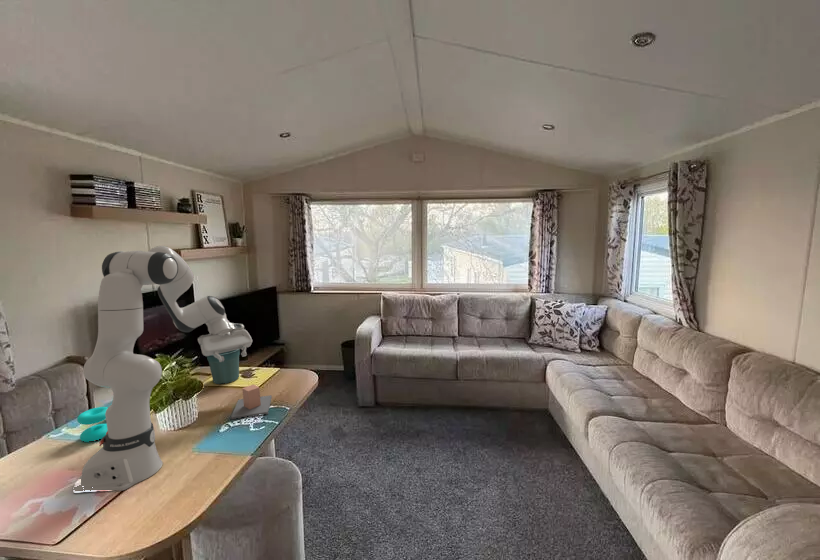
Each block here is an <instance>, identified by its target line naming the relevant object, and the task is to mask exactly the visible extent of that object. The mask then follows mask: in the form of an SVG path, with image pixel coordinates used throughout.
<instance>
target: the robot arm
mask: <svg viewBox="0 0 820 560" xmlns="http://www.w3.org/2000/svg"><path fill="white" fill-rule="evenodd" d="M101 273H102V275H103V278H102V279H101V281H100V285H99V291H98V299H97V327H98V329H97V331H98V332H97V339H96V344H95V347H94V350H93V352H92V355H91V356H90V357H89V358H87V360H86V361H85V363H84V365H83V369H82V374H83V377H84V378H85V379H86V380H87V381H88V382H90V383H92V384H93V385H95V386H97V387H101V388H107V389H111V390H112V402H111V404H110V405H109V406H108V409H107V410H106V413H105V416H106V419H105V421H106V423H105V424H107V430H108V432H106V435H105V436H104V437H103V438H102V439H101V440H99V442H98V443H99V447H100V449H98V451H96V452H95V453H93V455H92V456H90V458H89V459H88V460H87V461H86V462H85V463H84V465H83V468H82V469H81V475H80V476H79V478H78V479H81V485H79V486H77V487H74V489H73V488H72V491H73V490H75V491H83V490H84V491H85V490H90V491H91V490H119V491H118V492H120V491H121V492H122V491H125V490H127V489H129V488H130V487H132V486H134V485H136V484H137V483H140V482H142V481H144V480H146V479H148V478H150V477H152V476H154V475H155V474H156V473H157V472H158V471H159V470H161V468H162V466H163V461H162V459H161V456H160V455H159V452H158V450H157V449H158V448H157V447H156V446H157V445H156V442H155V441H156V433H155V429H154V423H153V422H152V419H151V409H150V401H151V399H150V398H151V394H152V391H153V389H154V387H155V386H157V384H158V383H159V382H160V380H161V377H162V374H163V370H162V369H163V368H162V365H161V364H160V362H159V361H158V360H156V359H154V358H152V357H150V356H148V355H145V354H137V353H134V347H135V344H136V341H137V339H138V338H139V337H141V335H142V334H143V332H144V301H143V293H142V288H143V286H151V285H159V286H158V287H157V294H158V297H159V299H160V301H161V303H162V305H163V306H164V308H165V310H166V311H167V313H168V314H169V316H170V318H171V319H172V323H173V324H174V326H175V328H176V329H178V331H180V332H183V333H190V332H192V331H193V330H195V329H197V328H198V327H201V326H202V325H203V324H205V325H206V327H207V331H208V332H209V333H208V334H202V335H199V337H197V342H198V344H199V346H200V349H201V354H202V355H203V357H204V356H205V357H207V356H210V355H214V357H216V358H217V359H219V362H223V361H224V360H225V359H224V357H223V356H220V355H219V353H223V352H228V351H232V350H237V349H240V350H241V352H240V355H241V357H242V358H243V357H246V356H247V355H248V354H247V348H249V347H251V345H252V343H253V339H252V336H251V335H250V333H249V332H248V330H246V328H245V325H244V324H243V323H234V322H230V320H228V318H227V314H226V310H225V307H224V305H223V303H222V301H221V300H220V299H219V298H217V297H216V296H212V295H207V296H204V297H202V298H200V299H198V300H196V301H194V302H192V303H191V304H187V305H186V306H184V307H183V306H182V307H180V306H179V304H178V302H177V300H178V299H179V298H180V297H181V296H182V295H183V294H184V293H185V292H187V291H188V290H189V289H190V287H191V286H192V284H193V282H194V272H193V270H192V269H191V267H190V266H189V264H188V263H187V261H185V260H184V258H183V257H182V256H181V255H180V254H179V253H177V252H176V251H175V250H174V249H172V248H171V247H168V246H165V245H159V246H154V247H152V248H151V249H149V250H148V251H145V250H144V251H143V250H130V251H129V250H128V251H121V250H120V251H115V252H111V253H109V254H107V255H106V257H105V258H104V259H103V262H102V263H101ZM101 446H102V447H101ZM82 486H84V487H82ZM92 487H93V488H92ZM83 488H84V489H83Z"/></svg>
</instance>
